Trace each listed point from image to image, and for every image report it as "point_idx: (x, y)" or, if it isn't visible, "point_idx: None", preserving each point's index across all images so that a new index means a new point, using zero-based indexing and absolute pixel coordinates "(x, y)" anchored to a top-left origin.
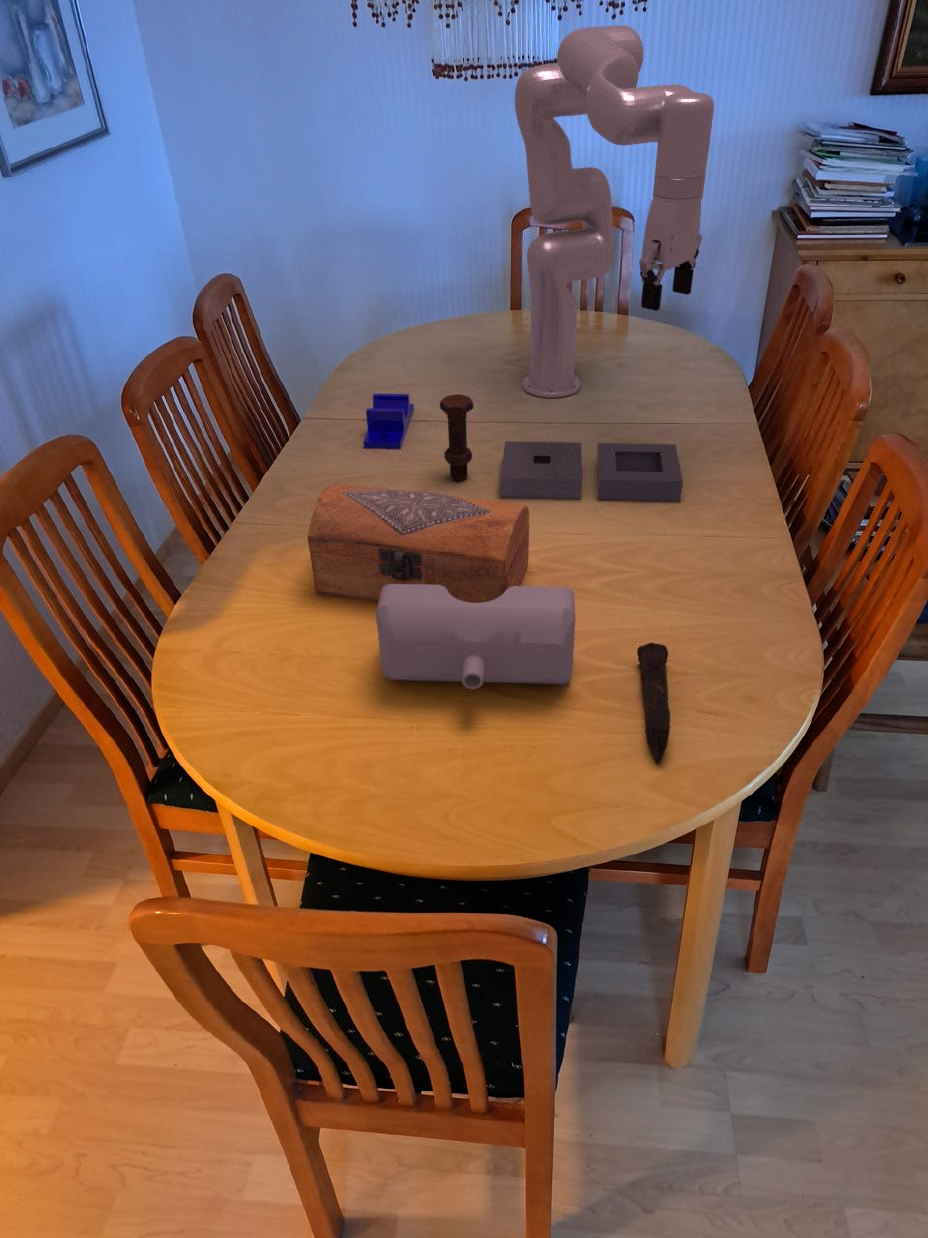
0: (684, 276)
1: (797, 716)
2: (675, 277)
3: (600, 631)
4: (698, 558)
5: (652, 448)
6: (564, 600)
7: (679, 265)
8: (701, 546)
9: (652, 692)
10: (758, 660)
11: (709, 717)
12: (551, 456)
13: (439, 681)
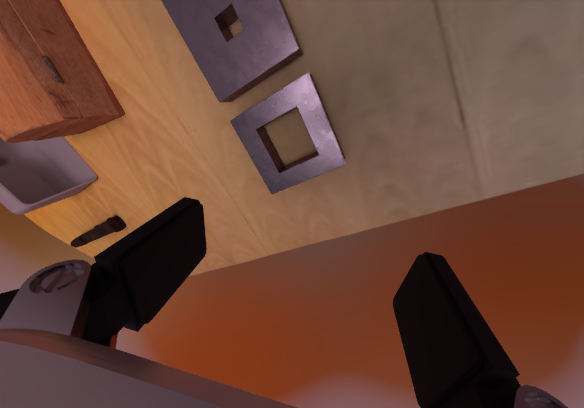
0: (423, 355)
1: None
2: (441, 310)
3: (119, 189)
4: (216, 217)
5: (324, 144)
6: (13, 208)
7: (479, 403)
8: (229, 216)
9: (88, 235)
10: None
11: None
12: (242, 31)
13: None
